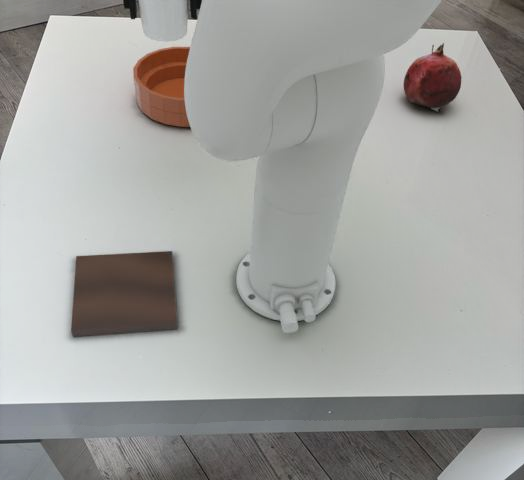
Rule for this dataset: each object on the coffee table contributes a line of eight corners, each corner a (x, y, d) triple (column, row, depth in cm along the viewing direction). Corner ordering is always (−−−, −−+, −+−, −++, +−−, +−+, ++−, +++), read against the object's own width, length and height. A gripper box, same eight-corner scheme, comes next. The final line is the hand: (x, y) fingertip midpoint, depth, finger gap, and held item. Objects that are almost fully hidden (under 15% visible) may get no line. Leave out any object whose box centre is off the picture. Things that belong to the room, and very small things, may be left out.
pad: (177, 329, 64) (177, 324, 63) (72, 337, 63) (70, 331, 62) (172, 256, 71) (172, 250, 70) (77, 261, 69) (76, 255, 69)
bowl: (239, 128, 88) (240, 99, 84) (137, 130, 86) (133, 100, 82) (228, 75, 97) (229, 46, 93) (136, 76, 95) (132, 46, 91)
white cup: (183, 47, 68) (179, -16, 62) (130, 39, 69) (122, -25, 63) (198, 24, 72) (196, -38, 67) (149, 16, 73) (142, -46, 67)
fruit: (447, 124, 93) (469, 65, 85) (393, 110, 94) (410, 51, 86) (455, 97, 98) (477, 40, 90) (404, 84, 99) (421, 26, 91)
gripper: (54, -173, 51) (92, 28, 66) (237, -165, 53) (235, 28, 68) (61, -192, 56) (95, 1, 70) (230, -184, 58) (229, 2, 72)
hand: (163, 13), depth 69 cm, fingers closed on white cup, 6 cm apart
